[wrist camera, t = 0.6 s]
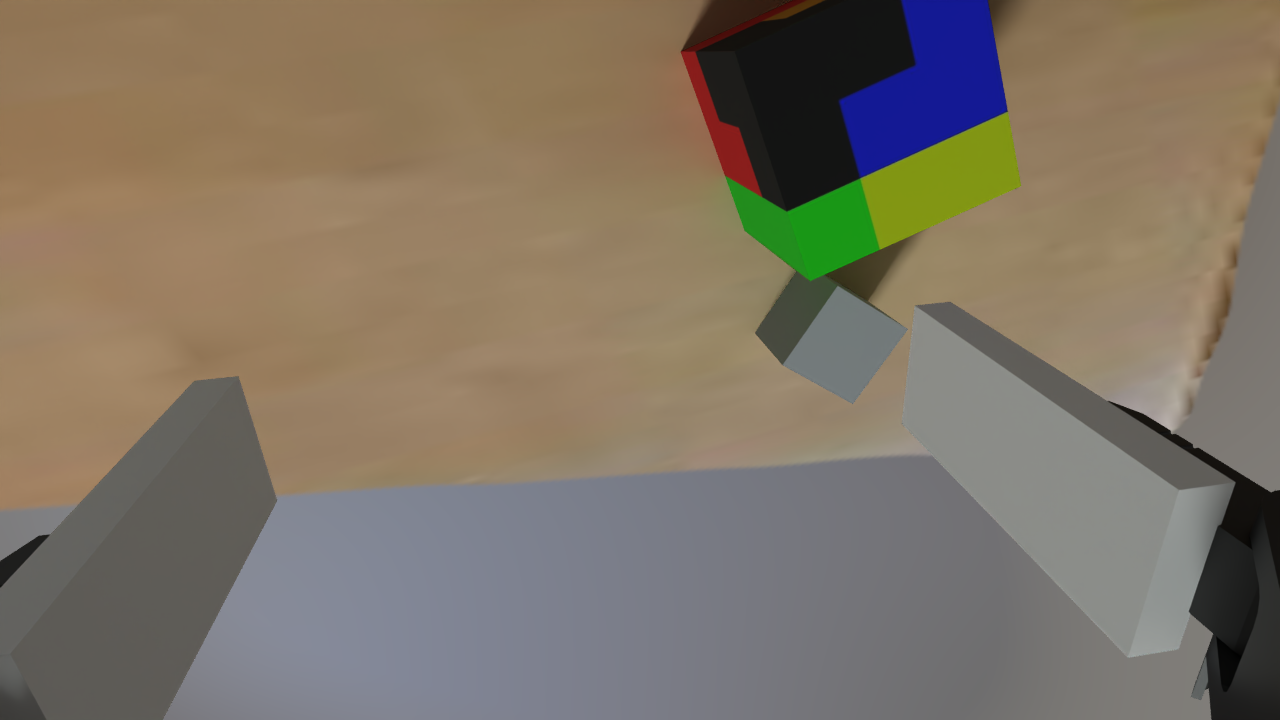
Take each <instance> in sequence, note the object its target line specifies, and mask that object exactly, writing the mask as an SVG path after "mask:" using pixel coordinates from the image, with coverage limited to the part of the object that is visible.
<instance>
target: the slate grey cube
mask: <svg viewBox="0 0 1280 720" xmlns="http://www.w3.org/2000/svg"><path fill="white" fill-rule="evenodd" d="M907 330H908V329H907V328H905V327H904V326H902V325H901V324H900V323H898V322H897V321H895V320H894V319H892V318H891V317H890V316H888V315H887V314H885V313H884V312H882V311H881V310H880V309H878V308H877V307H875V306H874V305H872V304H871V303H870V302H868V301H867V300H865V299H863V298H862V297H860V296H858V295H857V294H855V293H854V292H852V291H850V290H849V289H847V288H846V287H844V286H842V285H841V284H839V283H838V282H836V281H834V280H833V279H831V278H829V277H828V276H826V275H823V276H821V277H818V278H816V279H814V280H812V281H809V280H807V279H806V278H805V277H804V276H802V275H801V274H800V273H798V272H796V273H795V275H794V276H793V278H792V279H791V281H790V282H789V284H788V285H787V286H786V288H785V289H784V291H783V292H782V294H781V295H780V297H779V298H778V300H777V301H776V303H775V304H774V306H773V307H772V309H771V310H770V312H769V313H768V315H767V316H766V318H765V319H764V321H763V322H762V323H761V325H760V326H759V328H758V329H757V331H756V332H755V334H756V335H757V336H758V337H759V338H760V339H761V341H762V342H763V343H764V344H765V345H766V346H767V348H768V349H769V350H770V351H771V352H772V353H773V355H774V356H775V357H776V358H777V359H778V360H779V361H780V363H781V364H782V365H783V366H785V367H787V368H789V369H791V370H792V371H794V372H796V373H798V374H800V375H801V376H803V377H805V378H807V379H809V380H810V381H812V382H814V383H816V384H818V385H819V386H821V387H823V388H825V389H827V390H828V391H830V392H832V393H834V394H836V395H838V396H839V397H841V398H843V399H845V400H847V401H848V402H850V403H852V404H853V403H854V402H855V400H856V399H857V398H858V396H859V395H860V394H861V392H862V391H863V390H864V388H865V387H866V385H867V384H868V383H869V381H870V380H871V379H872V377H873V376H874V375H875V373H876V372H877V371H878V369H879V368H880V366H881V365H882V364H883V362H884V361H885V360H886V358H887V357H888V356H889V354H890V353H891V352H892V350H893V349H894V347H895V346H896V345H897V343H898V342H899V341H900V339H901V338H902V337H903V335H904V334H905V333H906V331H907Z"/></svg>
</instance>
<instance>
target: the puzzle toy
mask: <svg viewBox="0 0 1280 720" xmlns="http://www.w3.org/2000/svg"><path fill="white" fill-rule="evenodd" d="M681 54H682V57H683V60H684V62H685V65H686V68H687V71H688V74H689V76H690V79H691V82H692V85H693V88H694V90H695V93H696V96H697V99H698V102H699V104H700V107H701V110H702V113H703V116H704V118H705V121H706V124H707V127H708V129H709V132H710V135H711V138H712V141H713V143H714V146H715V149H716V152H717V155H718V157H719V160H720V163H721V166H722V169H723V171H724V174H725V177H726V180H727V183H728V185H729V188H730V191H731V194H732V197H733V199H734V202H735V205H736V208H737V211H738V213H739V216H740V219H741V222H742V224H743V227H744V230H745V231H746V232H747V233H748V234H749V235H751V236H752V237H753V238H755V239H756V240H757V241H758V242H760V243H761V244H762V245H764V246H765V247H766V248H767V249H769V250H770V251H771V252H773V253H774V254H775V255H777V256H778V257H779V258H780V259H782V260H783V261H784V262H786V263H787V264H788V265H789V266H791V267H792V268H793V269H795V270H796V271H797V272H798V273H800V274H801V275H802V276H804V277H805V278H806V279H807V280H809V281H812V280H814V279H816V278H818V277H821V276H823V275H825V274H827V273H829V272H832V271H834V270H836V269H838V268H840V267H843V266H845V265H847V264H849V263H852V262H854V261H856V260H858V259H860V258H863V257H865V256H867V255H869V254H872V253H874V252H876V251H878V250H880V249H883V248H885V247H887V246H889V245H891V244H894V243H896V242H898V241H900V240H903V239H905V238H907V237H909V236H911V235H914V234H916V233H918V232H920V231H923V230H925V229H927V228H929V227H931V226H934V225H936V224H938V223H940V222H942V221H945V220H947V219H949V218H951V217H954V216H956V215H958V214H960V213H962V212H965V211H967V210H969V209H971V208H974V207H976V206H978V205H980V204H982V203H985V202H987V201H989V200H991V199H993V198H996V197H998V196H1000V195H1002V194H1005V193H1007V192H1009V191H1011V190H1013V189H1016V188H1018V187H1020V186H1021V182H1020V177H1019V171H1018V165H1017V160H1016V154H1015V149H1014V143H1013V138H1012V132H1011V127H1010V121H1009V115H1008V110H1007V104H1006V99H1005V93H1004V88H1003V82H1002V77H1001V71H1000V65H999V60H998V54H997V49H996V43H995V38H994V32H993V27H992V21H991V15H990V10H989V4H988V0H793V1H790V2H788V3H786V4H784V5H782V6H780V7H777V8H775V9H773V10H771V11H769V12H766V13H764V14H762V15H760V16H758V17H756V18H753V19H751V20H749V21H747V22H745V23H742V24H740V25H738V26H736V27H734V28H732V29H729V30H727V31H725V32H723V33H721V34H718V35H716V36H714V37H712V38H710V39H708V40H705V41H703V42H701V43H699V44H697V45H694V46H692V47H690V48H688V49H686V50H684V51H681Z"/></svg>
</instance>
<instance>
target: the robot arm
mask: <svg viewBox="0 0 1280 720" xmlns="http://www.w3.org/2000/svg"><path fill="white" fill-rule="evenodd" d="M902 424H903V425H904V427H905V428H906V429H907V430H908V431H909V432H910V433H911V434H912V435H913V436H914V437H915V438H916V439H917V440H918V441H919V442H920V443H921V444H922V445H923V446H924V447H925V448H926V449H927V450H928V451H929V452H930V453H931V454H932V455H933V457H934V458H935V459H936V460H937V461H938V462H939V463H940V464H941V465H942V466H943V467H944V468H945V469H946V470H947V471H948V472H949V473H950V474H951V475H952V476H953V477H954V478H955V479H956V480H957V481H958V482H959V483H960V484H961V485H962V486H963V487H964V489H965V490H967V492H968V493H969V494H970V495H971V496H972V497H973V498H974V499H975V500H976V501H977V502H978V503H979V504H980V505H981V506H982V507H983V508H984V509H985V510H986V511H987V512H988V513H989V514H990V515H991V517H992V518H993V519H995V521H997V523H998V524H999V525H1000V526H1001V527H1002V528H1003V529H1004V530H1005V531H1006V532H1007V533H1008V534H1009V535H1010V536H1011V537H1012V538H1013V539H1014V540H1015V541H1016V542H1017V543H1018V544H1019V545H1020V547H1022V549H1023V550H1024V551H1025V552H1026V553H1027V554H1028V555H1030V557H1031V558H1032V559H1033V560H1034V561H1035V562H1036V563H1037V564H1038V565H1039V566H1040V567H1041V568H1042V569H1043V570H1044V571H1045V572H1046V573H1047V574H1048V575H1049V576H1050V577H1051V578H1052V580H1053V581H1054V582H1055V583H1056V584H1057V585H1058V586H1059V587H1060V588H1061V589H1062V590H1063V591H1064V592H1065V593H1066V594H1067V595H1068V596H1069V597H1070V598H1071V599H1072V600H1073V601H1074V602H1075V603H1076V604H1077V605H1078V606H1079V607H1080V609H1081V610H1082V611H1083V612H1084V613H1085V614H1086V615H1087V616H1088V617H1089V618H1090V619H1091V620H1092V621H1093V622H1094V623H1095V624H1096V625H1097V626H1098V627H1099V628H1100V629H1101V630H1102V631H1103V632H1104V633H1105V634H1106V635H1107V636H1108V638H1109V639H1111V641H1112V642H1113V643H1114V644H1115V645H1116V646H1117V647H1118V648H1119V649H1120V650H1121V651H1122V652H1123V653H1124V654H1125V655H1126V656H1127V657H1128V658H1129V657H1135V656H1140V655H1147V654H1152V653H1159V652H1165V651H1171V650H1177V649H1179V646H1180V643H1181V640H1182V637H1183V634H1184V632H1185V629H1186V626H1187V623H1188V619H1189V617H1190V614H1191V615H1193V616H1194V617H1195V618H1196V619H1197V620H1198V621H1200V622H1201V623H1202V624H1203V625H1204V626H1205V627H1207V628H1208V629H1209V630H1210V631H1211V632H1212V633H1213V636H1212V639H1211V642H1210V645H1209V647H1208V650H1207V653H1206V656H1205V658H1204V661H1203V664H1202V666H1201V669H1200V672H1199V675H1198V677H1197V680H1196V683H1195V686H1194V689H1193V692H1192V695H1191V697H1193V698H1196V699H1199V700H1201V699H1202V696H1203V693H1204V691H1205V690H1206V689H1208V688H1209V695H1210V708H1211V719H1212V720H1280V490H1278V491H1274V492H1269V491H1268V490H1266V489H1264V488H1263V487H1261V486H1260V485H1258V484H1256V483H1255V482H1253V481H1251V480H1250V479H1248V478H1246V477H1245V476H1243V475H1242V474H1240V473H1238V472H1237V471H1235V470H1233V469H1232V468H1230V467H1229V466H1227V465H1226V464H1224V463H1222V462H1221V461H1219V460H1217V459H1216V458H1214V457H1213V456H1211V455H1209V454H1208V453H1206V452H1204V451H1203V450H1201V449H1200V448H1193V444H1191V443H1190V442H1188V441H1187V440H1185V439H1183V438H1182V437H1180V436H1178V435H1176V434H1171V431H1170V430H1169V429H1167V428H1165V427H1164V426H1162V425H1161V424H1159V423H1157V422H1156V421H1154V420H1152V419H1151V418H1149V417H1148V416H1146V415H1144V414H1142V413H1139V412H1137V411H1134V410H1132V409H1129V408H1126V407H1124V406H1121V405H1118V404H1116V403H1113V402H1110V401H1106V400H1105V399H1103V398H1101V397H1100V396H1098V395H1097V394H1095V393H1094V392H1092V391H1090V390H1089V389H1087V388H1086V387H1084V386H1083V385H1081V384H1079V383H1078V382H1076V381H1075V380H1073V379H1071V378H1070V377H1068V376H1067V375H1065V374H1064V373H1062V372H1060V371H1059V370H1057V369H1056V368H1054V367H1052V366H1051V365H1049V364H1048V363H1046V362H1045V361H1043V360H1041V359H1040V358H1038V357H1037V356H1035V355H1033V354H1032V353H1030V352H1029V351H1027V350H1026V349H1024V348H1022V347H1021V346H1019V345H1018V344H1016V343H1015V342H1013V341H1011V340H1010V339H1008V338H1007V337H1005V336H1003V335H1002V334H1000V333H999V332H997V331H996V330H994V329H992V328H991V327H989V326H988V325H986V324H984V323H983V322H981V321H980V320H978V319H977V318H975V317H973V316H972V315H970V314H969V313H967V312H965V311H964V310H962V309H961V308H959V307H958V306H956V305H954V304H953V303H951V302H945V303H935V304H925V305H916V306H915V309H914V318H913V327H912V336H911V345H910V354H909V363H908V372H907V381H906V390H905V399H904V408H903V417H902ZM276 502H277V498H276V495H275V492H274V489H273V485H272V482H271V479H270V476H269V473H268V469H267V466H266V463H265V460H264V457H263V453H262V450H261V447H260V444H259V441H258V437H257V434H256V431H255V428H254V425H253V421H252V418H251V415H250V412H249V409H248V405H247V402H246V399H245V396H244V392H243V389H242V386H241V383H240V380H239V376H236V377H227V378H217V379H208V380H198V381H194V382H193V383H192V384H191V385H190V386H189V387H188V388H187V389H186V390H185V391H184V393H183V394H182V395H181V396H180V397H179V398H178V399H177V400H176V401H175V402H174V403H173V404H172V405H171V406H170V407H169V409H168V410H167V411H166V412H165V413H164V414H163V415H162V416H161V417H160V418H159V419H158V420H157V421H156V422H155V423H154V425H153V426H152V427H151V428H150V429H149V430H148V431H147V432H146V433H145V434H144V435H143V436H142V437H141V438H140V439H139V441H138V442H137V443H136V444H135V445H134V446H133V447H132V448H131V449H130V450H129V451H128V452H127V453H126V454H125V455H124V457H123V458H122V459H121V460H120V461H119V462H118V463H117V464H116V465H115V466H114V467H113V468H112V469H111V470H110V471H109V473H108V474H107V475H106V476H105V477H104V478H103V479H102V480H101V481H100V482H99V483H98V484H97V485H96V486H95V487H94V489H93V490H92V491H91V492H90V493H89V494H88V495H87V496H86V497H85V498H84V499H83V500H82V501H81V502H80V503H79V505H78V506H77V507H76V508H75V509H74V510H73V511H72V512H71V513H70V514H69V515H68V516H67V517H66V518H65V520H64V521H63V522H62V523H61V524H60V525H59V526H58V527H57V528H56V529H55V530H54V531H53V532H52V533H51V534H50V535H42V536H38V537H36V538H35V539H34V540H32V541H30V542H29V543H27V544H26V545H24V546H23V547H21V548H20V549H18V550H17V551H15V552H14V553H12V554H11V555H9V556H7V557H6V558H4V559H3V560H1V561H0V720H163V718H164V716H165V715H166V713H167V711H168V709H169V707H170V705H171V703H172V701H173V699H174V697H175V695H176V693H177V692H178V690H179V688H180V686H181V684H182V682H183V680H184V678H185V676H186V674H187V672H188V670H189V669H190V666H191V665H192V663H193V661H194V659H195V657H196V655H197V653H198V651H199V649H200V647H201V646H202V644H203V642H204V640H205V638H206V636H207V634H208V632H209V630H210V628H211V626H212V624H213V623H214V621H215V619H216V617H217V615H218V613H219V611H220V609H221V607H222V605H223V603H224V601H225V600H226V598H227V596H228V594H229V592H230V590H231V588H232V586H233V584H234V582H235V580H236V578H237V576H238V575H239V573H240V571H241V569H242V567H243V565H244V563H245V561H246V559H247V557H248V556H249V554H250V552H251V550H252V548H253V546H254V544H255V542H256V540H257V538H258V536H259V534H260V532H261V531H262V529H263V527H264V525H265V523H266V521H267V519H268V517H269V515H270V513H271V511H272V510H273V508H274V506H275V504H276Z"/></svg>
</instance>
